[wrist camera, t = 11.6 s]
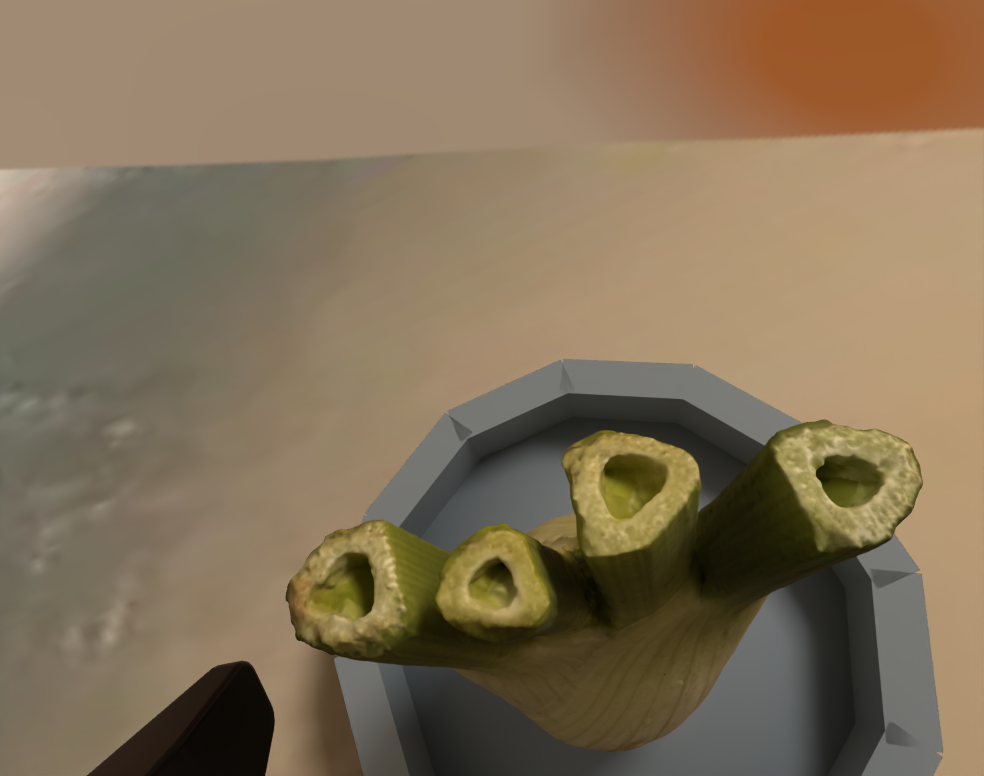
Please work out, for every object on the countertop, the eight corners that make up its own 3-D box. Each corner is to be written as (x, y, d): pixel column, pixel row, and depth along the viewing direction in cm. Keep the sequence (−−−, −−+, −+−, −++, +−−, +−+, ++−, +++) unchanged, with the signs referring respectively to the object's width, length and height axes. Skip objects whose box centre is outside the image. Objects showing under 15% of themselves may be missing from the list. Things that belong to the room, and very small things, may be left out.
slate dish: (917, 1005, 13) (983, 1080, 10) (332, 863, 16) (281, 898, 13) (861, 411, 18) (897, 372, 15) (424, 388, 21) (398, 352, 18)
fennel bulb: (735, 564, 16) (967, 352, 5) (705, 779, 14) (960, 1113, 4) (518, 511, 18) (355, 264, 7) (468, 698, 16) (147, 761, 5)
